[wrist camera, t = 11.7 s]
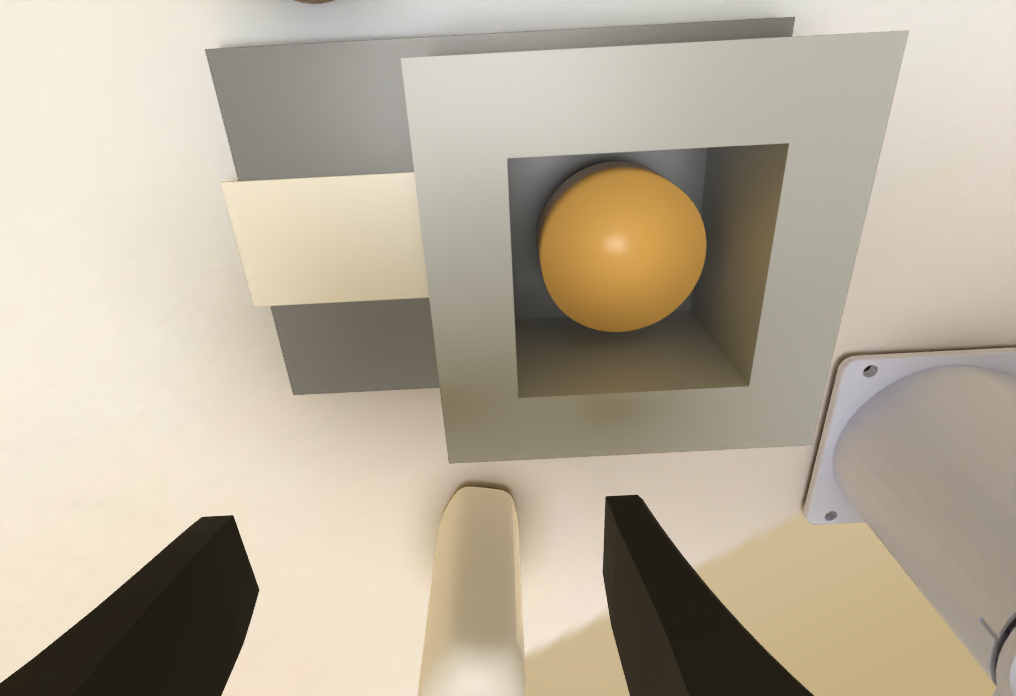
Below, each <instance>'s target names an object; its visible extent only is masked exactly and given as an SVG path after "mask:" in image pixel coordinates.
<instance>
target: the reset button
mask: <svg viewBox="0 0 1016 696" xmlns="http://www.w3.org/2000/svg"><path fill="white" fill-rule="evenodd" d="M537 249H538V255H539V260H540V265H541V269H542V274H543V278H544V282H545V285H546V287H547V290H548V292H549V294H550V296H551V297H552V299H553V301H554V302H555V303H556V305H557V306H558V307H559V308H560V309H561V310H562V311H563V312H564V313H565V314H566V315H567V316H569V317H570V318H571V319H573V320H574V321H576V322H578V323H580V324H581V325H584V326H586V327H589V328H592V329H596V330H599V331H607V332H625V331H632V330H636V329H641V328H644V327H646V326H649V325H652V324H654V323H656V322H658V321H660V320H661V319H663V318H665V317H666V316H668V315H669V314H670V313H672V312H673V311H674V310H675V309H677V308H678V307H679V306H680V305H681V304H682V303H683V302H684V301H685V299H686V298H687V297H688V296H689V294H690V293H691V292H692V290H693V288H694V287H695V285H696V283H697V281H698V279H699V277H700V275H701V272H702V269H703V266H704V262H705V256H706V233H705V228H704V224H703V221H702V218H701V216H700V213H699V212H698V210H697V208H696V206H695V205H694V203H693V202H692V201H691V200H690V198H689V197H688V196H687V195H686V194H685V193H684V192H683V191H682V190H681V189H679V188H678V187H677V186H675V185H674V184H673V183H671V182H670V181H668V180H667V179H666V178H664V177H663V176H661V175H660V174H658V173H657V172H655V171H654V170H652V169H650V168H648V167H646V166H643V165H640V164H637V163H632V162H626V161H611V162H603V163H599V164H595V165H592V166H590V167H587V168H585V169H583V170H581V171H579V172H577V173H576V174H574V175H573V176H571V177H570V178H568V179H567V180H566V181H565V182H564V183H563V184H562V185H561V186H559V187H558V189H557V190H556V191H555V192H554V193H553V195H552V196H551V198H550V199H549V201H548V202H547V204H546V206H545V208H544V210H543V212H542V215H541V218H540V221H539V226H538V231H537Z"/></svg>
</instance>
